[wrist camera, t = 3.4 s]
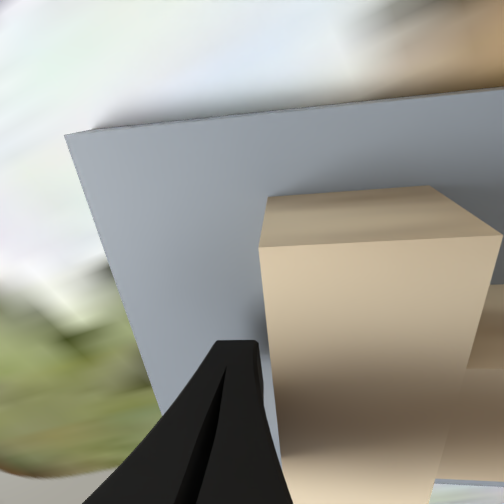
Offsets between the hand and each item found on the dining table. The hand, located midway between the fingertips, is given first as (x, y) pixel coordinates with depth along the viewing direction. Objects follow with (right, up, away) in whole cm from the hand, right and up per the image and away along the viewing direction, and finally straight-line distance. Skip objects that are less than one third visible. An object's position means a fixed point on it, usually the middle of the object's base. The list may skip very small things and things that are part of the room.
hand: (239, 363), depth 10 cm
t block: (+7, +1, 0) cm, 7 cm away
